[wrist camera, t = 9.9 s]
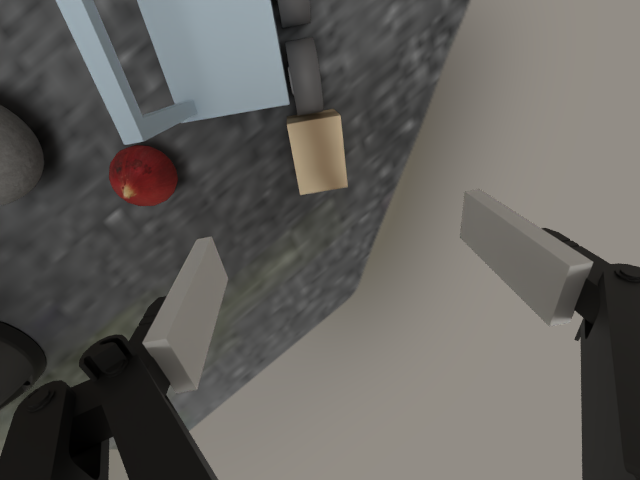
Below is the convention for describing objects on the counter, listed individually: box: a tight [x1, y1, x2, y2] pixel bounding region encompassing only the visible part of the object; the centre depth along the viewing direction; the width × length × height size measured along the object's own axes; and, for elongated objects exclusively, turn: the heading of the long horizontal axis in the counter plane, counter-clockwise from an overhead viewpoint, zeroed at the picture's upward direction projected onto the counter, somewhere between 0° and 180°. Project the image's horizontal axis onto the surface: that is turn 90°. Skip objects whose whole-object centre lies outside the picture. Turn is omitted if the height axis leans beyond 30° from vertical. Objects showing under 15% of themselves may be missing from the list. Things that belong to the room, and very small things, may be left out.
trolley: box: [56, 0, 323, 145], centre depth 20 cm, size 12×14×18 cm
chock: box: [287, 109, 348, 195], centre depth 31 cm, size 5×7×5 cm
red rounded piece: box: [109, 145, 178, 206], centre depth 29 cm, size 6×6×8 cm
